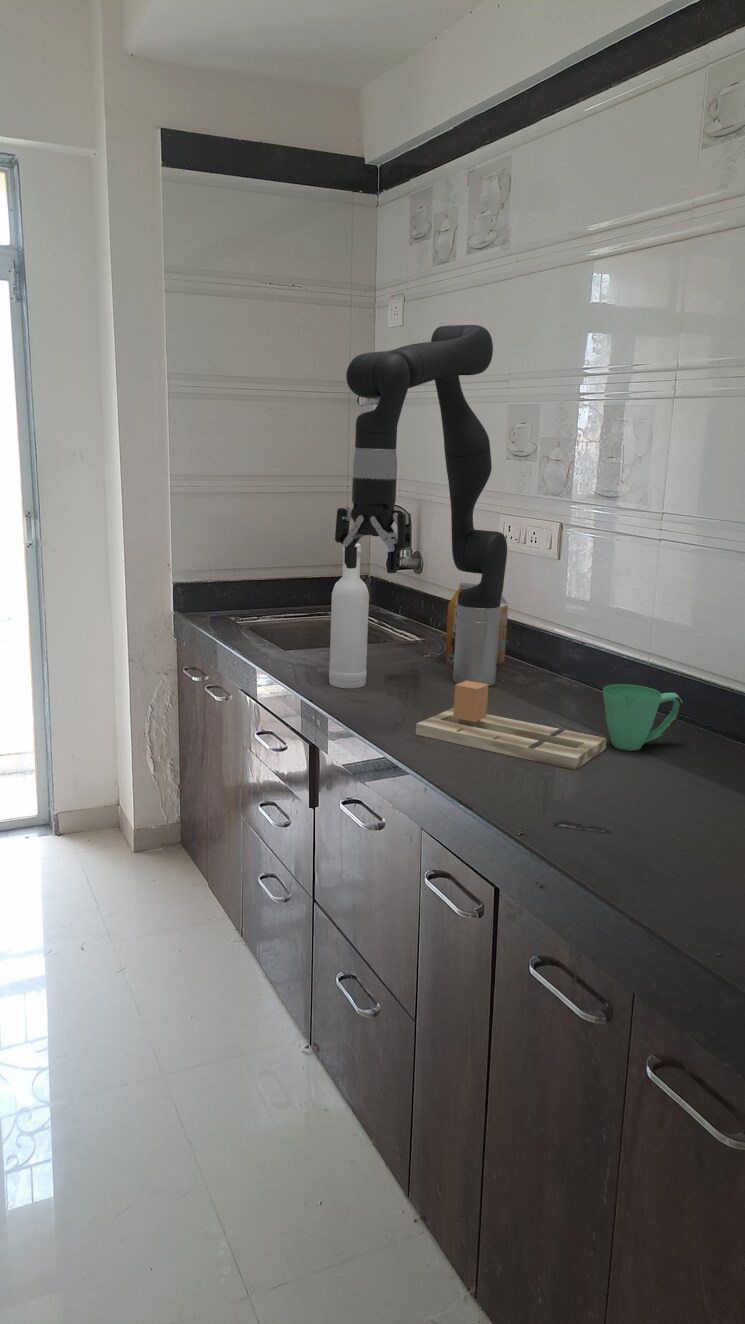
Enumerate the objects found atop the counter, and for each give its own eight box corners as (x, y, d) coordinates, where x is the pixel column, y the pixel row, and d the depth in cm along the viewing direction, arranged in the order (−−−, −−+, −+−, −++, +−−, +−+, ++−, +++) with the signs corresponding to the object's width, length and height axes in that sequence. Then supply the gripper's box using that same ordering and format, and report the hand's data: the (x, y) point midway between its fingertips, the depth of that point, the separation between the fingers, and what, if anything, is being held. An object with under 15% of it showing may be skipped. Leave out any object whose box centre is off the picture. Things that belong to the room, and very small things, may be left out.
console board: (453, 717, 181) (453, 707, 180) (605, 749, 165) (606, 737, 165) (415, 734, 169) (416, 723, 169) (575, 770, 154) (576, 757, 153)
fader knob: (463, 726, 174) (466, 680, 172) (485, 731, 172) (488, 684, 170) (452, 731, 171) (455, 684, 169) (474, 736, 168) (477, 689, 166)
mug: (615, 756, 161) (620, 699, 159) (588, 739, 171) (593, 685, 168) (691, 752, 165) (697, 697, 163) (661, 735, 174) (666, 683, 172)
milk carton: (504, 662, 230) (509, 584, 226) (485, 670, 222) (490, 589, 217) (465, 656, 236) (469, 580, 232) (445, 663, 227) (449, 584, 223)
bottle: (344, 690, 198) (349, 546, 191) (321, 682, 204) (325, 542, 197) (373, 685, 203) (379, 544, 196) (349, 678, 209) (354, 541, 202)
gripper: (421, 477, 162) (417, 572, 165) (352, 473, 169) (350, 564, 173) (398, 478, 155) (394, 577, 159) (328, 474, 163) (325, 568, 167)
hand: (371, 570), depth 166 cm, fingers open, 8 cm apart
